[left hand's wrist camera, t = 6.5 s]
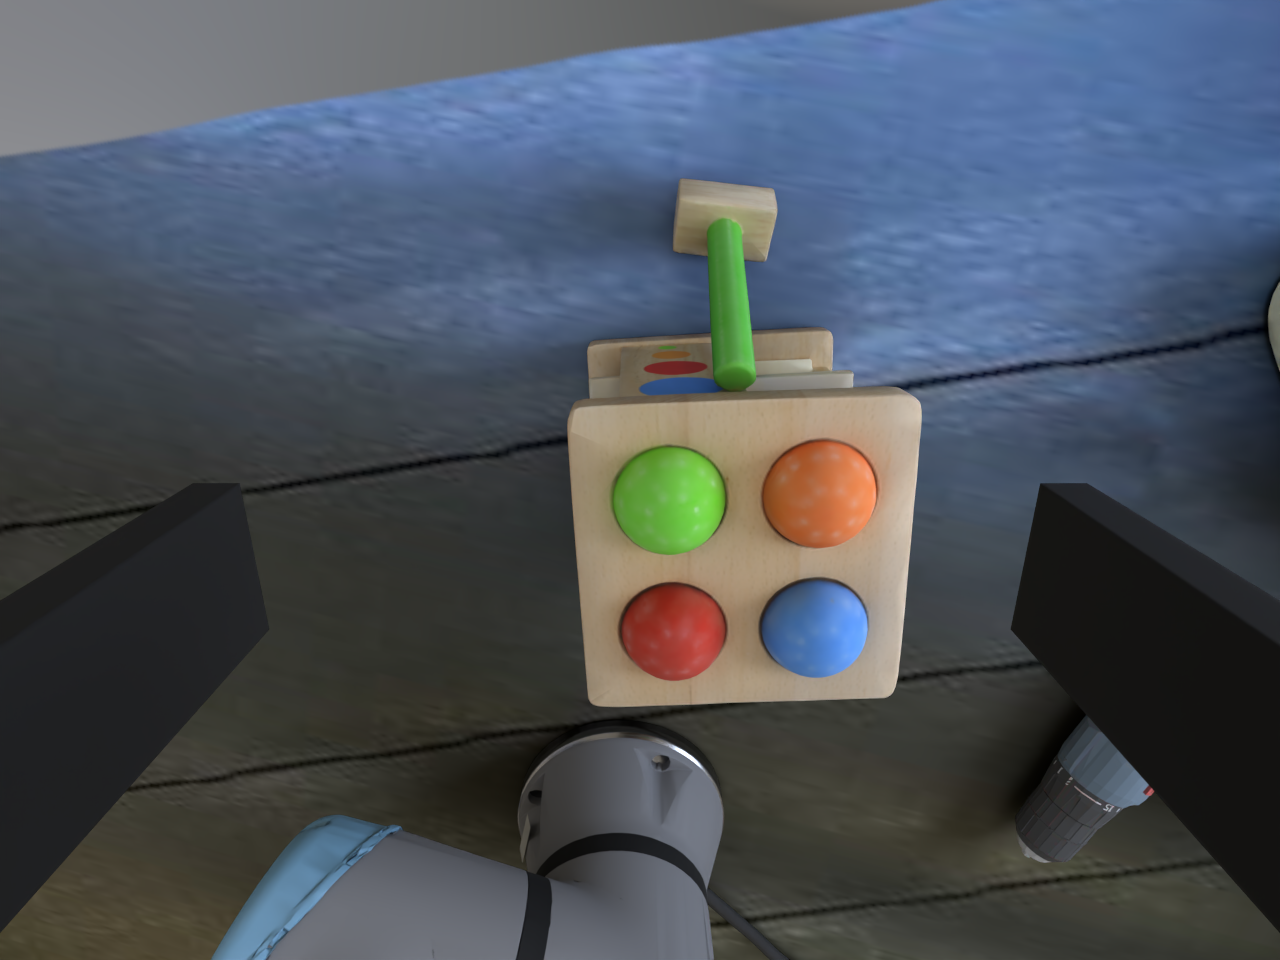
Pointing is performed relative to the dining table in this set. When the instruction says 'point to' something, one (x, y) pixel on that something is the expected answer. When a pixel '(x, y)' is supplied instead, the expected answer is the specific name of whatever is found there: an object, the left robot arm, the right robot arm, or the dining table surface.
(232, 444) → the dining table surface
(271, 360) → the dining table surface
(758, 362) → the pounding bench toy
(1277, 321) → the boat shoe
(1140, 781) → the power drill
